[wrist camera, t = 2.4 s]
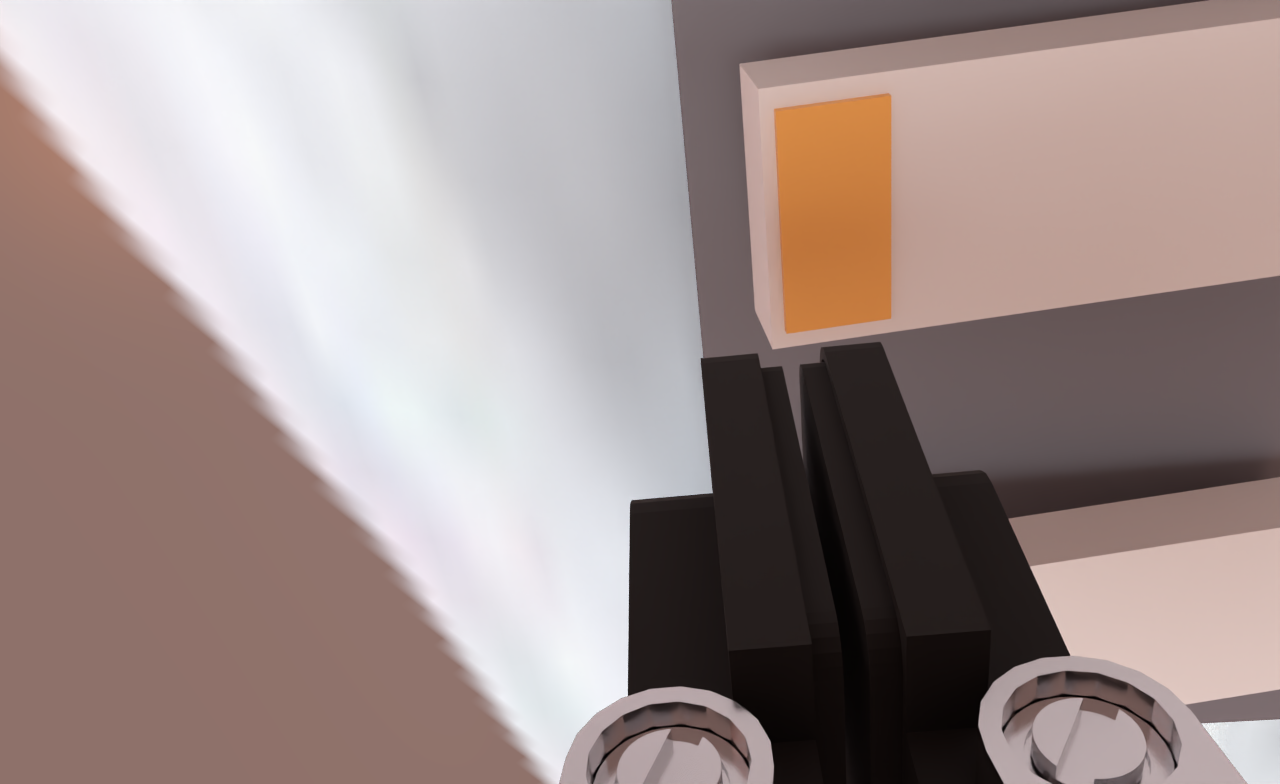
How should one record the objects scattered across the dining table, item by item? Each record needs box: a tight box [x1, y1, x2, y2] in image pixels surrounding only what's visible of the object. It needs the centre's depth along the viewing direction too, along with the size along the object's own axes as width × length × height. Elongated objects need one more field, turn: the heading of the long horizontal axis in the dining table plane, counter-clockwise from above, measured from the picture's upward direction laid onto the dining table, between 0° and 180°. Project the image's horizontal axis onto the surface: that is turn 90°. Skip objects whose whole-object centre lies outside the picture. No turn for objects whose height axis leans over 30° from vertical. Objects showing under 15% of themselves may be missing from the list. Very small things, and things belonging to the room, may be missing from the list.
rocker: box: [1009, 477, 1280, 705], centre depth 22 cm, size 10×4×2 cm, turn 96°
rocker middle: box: [739, 0, 1280, 349], centre depth 18 cm, size 10×4×2 cm, turn 96°
